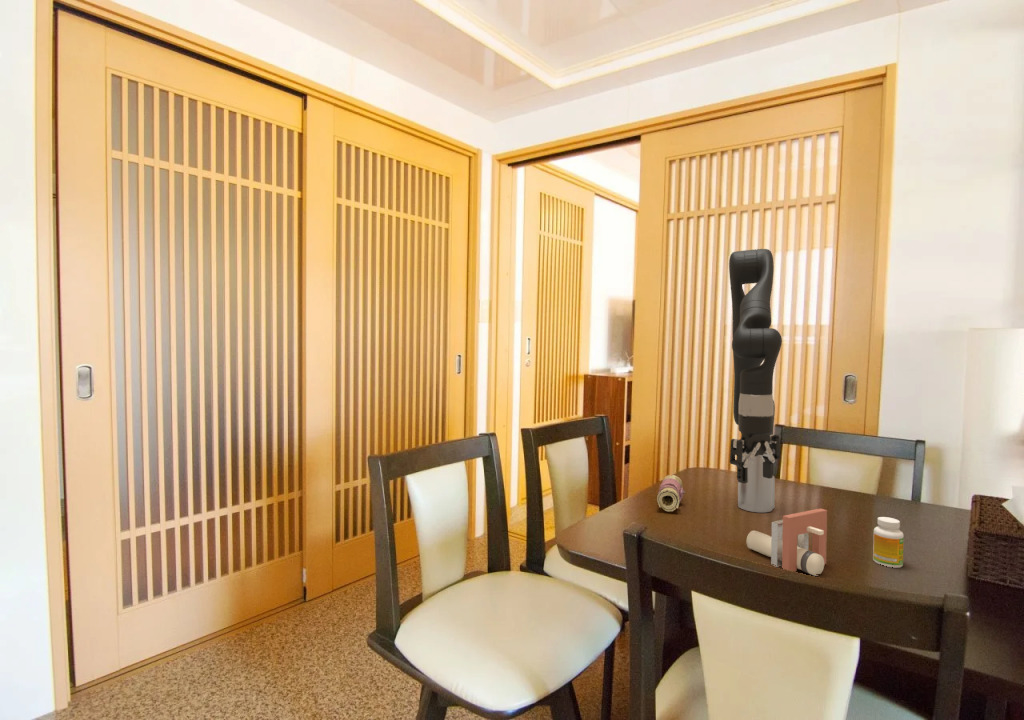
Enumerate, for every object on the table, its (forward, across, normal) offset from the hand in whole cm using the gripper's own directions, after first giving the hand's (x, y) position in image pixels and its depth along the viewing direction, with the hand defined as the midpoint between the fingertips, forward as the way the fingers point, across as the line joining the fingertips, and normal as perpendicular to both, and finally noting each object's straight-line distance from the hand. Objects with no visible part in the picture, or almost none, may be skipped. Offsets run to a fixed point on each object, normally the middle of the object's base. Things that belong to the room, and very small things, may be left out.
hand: (755, 480), depth 125 cm
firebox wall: (+16, +1, +15) cm, 22 cm away
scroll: (+17, -5, -34) cm, 38 cm away
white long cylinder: (+15, +1, +9) cm, 18 cm away
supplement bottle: (+16, -18, +20) cm, 31 cm away
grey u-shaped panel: (+16, +1, +10) cm, 19 cm away
